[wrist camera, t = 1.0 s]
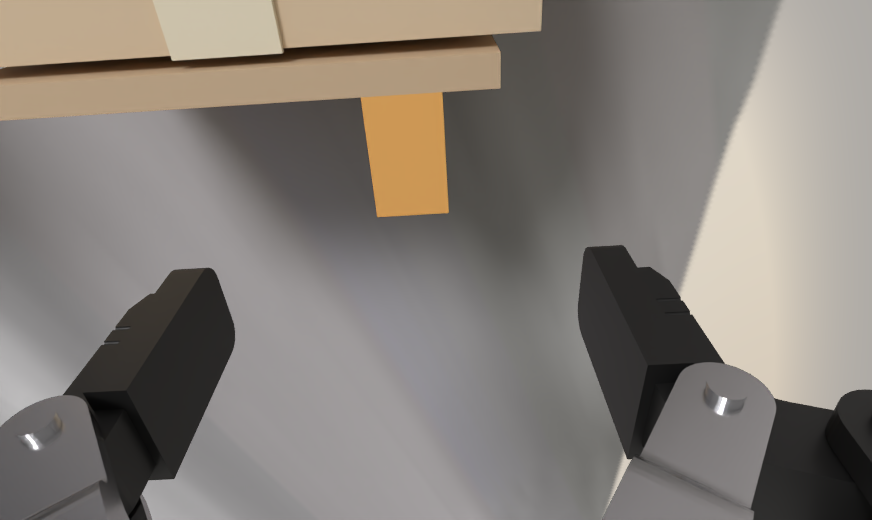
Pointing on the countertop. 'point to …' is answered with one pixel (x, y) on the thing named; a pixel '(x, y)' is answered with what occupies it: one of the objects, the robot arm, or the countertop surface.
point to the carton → (237, 26)
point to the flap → (291, 97)
